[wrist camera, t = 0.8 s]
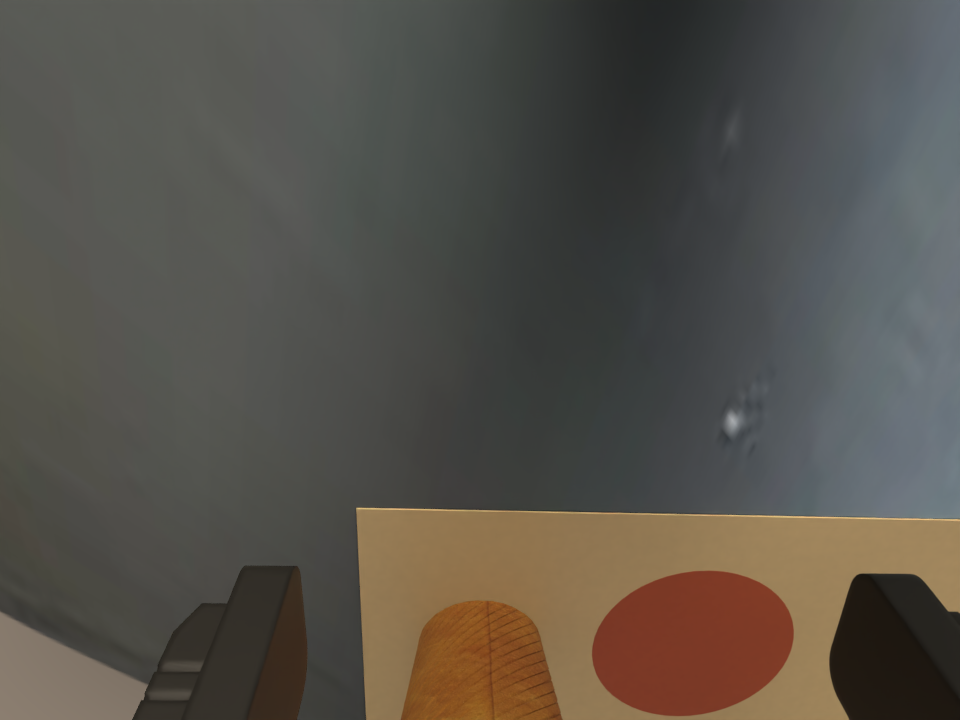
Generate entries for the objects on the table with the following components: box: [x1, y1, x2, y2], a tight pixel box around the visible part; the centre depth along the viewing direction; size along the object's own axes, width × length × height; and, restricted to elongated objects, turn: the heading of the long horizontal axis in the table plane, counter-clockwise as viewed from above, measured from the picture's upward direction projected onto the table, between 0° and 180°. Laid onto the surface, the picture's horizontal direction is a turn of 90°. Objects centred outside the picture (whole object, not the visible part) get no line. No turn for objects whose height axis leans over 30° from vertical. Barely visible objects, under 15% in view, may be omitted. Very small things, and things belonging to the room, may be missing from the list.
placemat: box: [356, 508, 960, 720], centre depth 39 cm, size 17×34×1 cm, turn 88°
